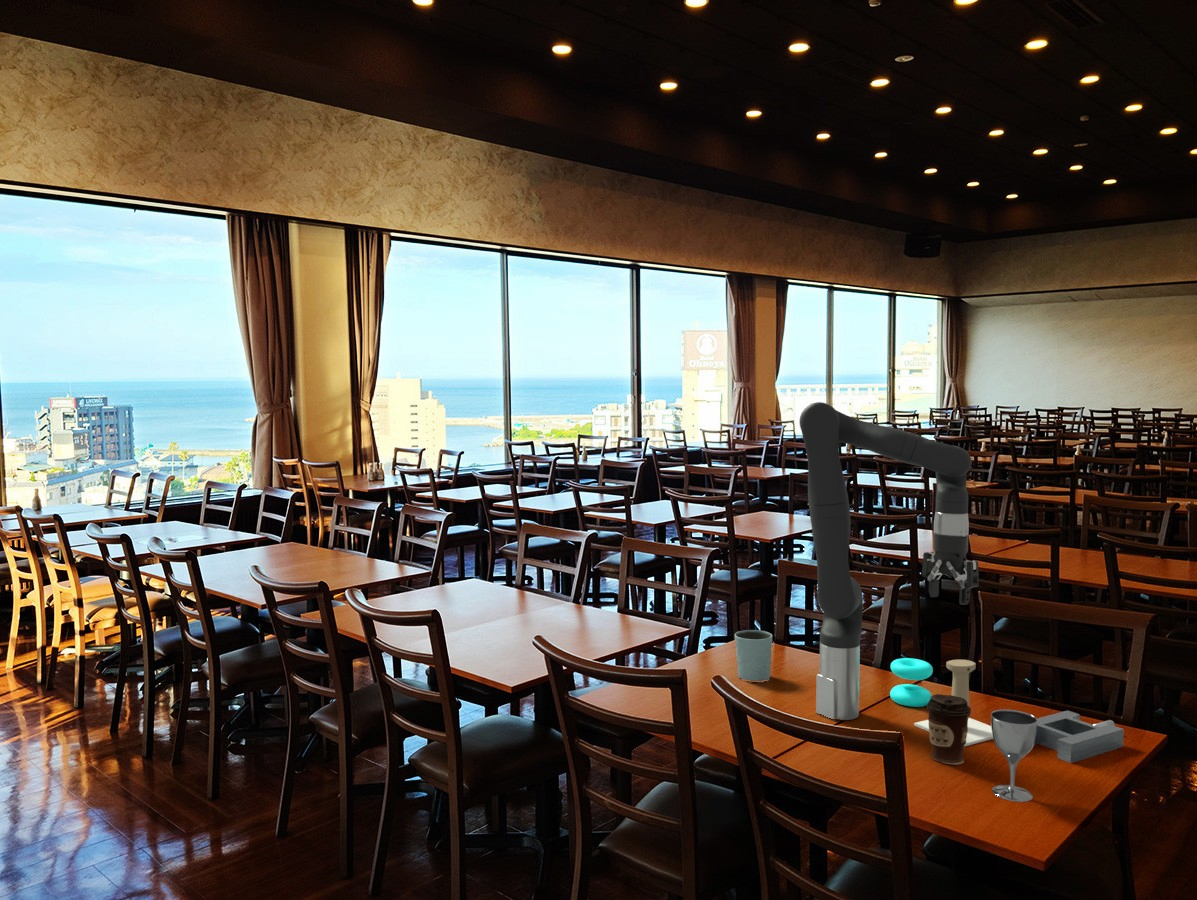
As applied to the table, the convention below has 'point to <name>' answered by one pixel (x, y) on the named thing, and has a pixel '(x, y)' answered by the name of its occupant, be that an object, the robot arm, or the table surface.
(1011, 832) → the table surface
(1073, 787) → the table surface
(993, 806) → the table surface
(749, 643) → the grey-green tapered cup
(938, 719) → the coffee cup
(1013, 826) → the table surface
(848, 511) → the robot arm
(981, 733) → the mat
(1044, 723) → the vise
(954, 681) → the handle
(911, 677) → the donuts
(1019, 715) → the wine glass
